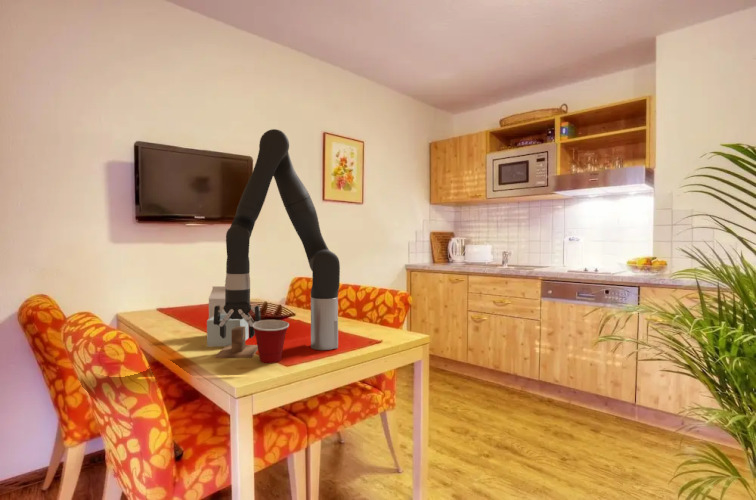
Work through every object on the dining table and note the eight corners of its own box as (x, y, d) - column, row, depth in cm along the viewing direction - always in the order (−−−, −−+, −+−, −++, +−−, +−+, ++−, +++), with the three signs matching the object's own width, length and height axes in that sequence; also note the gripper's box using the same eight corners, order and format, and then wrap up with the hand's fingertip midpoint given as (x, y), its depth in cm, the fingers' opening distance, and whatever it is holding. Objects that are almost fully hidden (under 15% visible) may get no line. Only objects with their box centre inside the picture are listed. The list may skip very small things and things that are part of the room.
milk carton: (228, 338, 146) (227, 287, 145) (209, 338, 146) (208, 287, 146) (235, 334, 153) (234, 285, 153) (217, 334, 153) (216, 285, 153)
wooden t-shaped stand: (260, 347, 133) (259, 324, 133) (252, 357, 122) (251, 332, 122) (226, 347, 132) (226, 324, 132) (215, 357, 122) (215, 332, 121)
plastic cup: (265, 371, 112) (265, 329, 111) (245, 363, 119) (244, 323, 118) (296, 361, 120) (296, 322, 120) (275, 354, 127) (275, 317, 127)
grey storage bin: (248, 339, 146) (248, 313, 145) (240, 347, 135) (240, 320, 134) (217, 339, 145) (217, 313, 145) (207, 348, 134) (206, 320, 134)
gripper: (263, 286, 131) (262, 334, 131) (218, 285, 130) (218, 334, 130) (257, 289, 123) (257, 340, 124) (210, 288, 122) (210, 340, 123)
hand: (237, 337), depth 127 cm, fingers open, 8 cm apart
